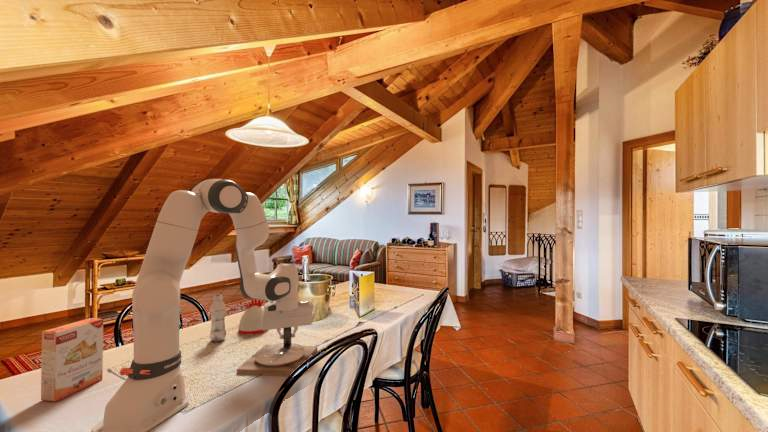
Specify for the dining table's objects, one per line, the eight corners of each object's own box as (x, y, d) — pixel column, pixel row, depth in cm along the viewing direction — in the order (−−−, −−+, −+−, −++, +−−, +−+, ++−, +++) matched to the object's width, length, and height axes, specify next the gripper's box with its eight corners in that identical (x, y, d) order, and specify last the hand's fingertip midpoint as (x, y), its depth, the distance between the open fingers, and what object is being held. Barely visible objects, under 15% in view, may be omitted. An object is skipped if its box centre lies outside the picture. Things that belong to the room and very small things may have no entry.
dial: (294, 368, 114) (294, 343, 114) (245, 365, 116) (245, 342, 116) (310, 347, 132) (310, 326, 132) (268, 345, 134) (268, 325, 134)
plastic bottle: (223, 336, 149) (222, 293, 149) (228, 340, 145) (228, 295, 145) (207, 340, 145) (207, 295, 145) (212, 344, 140) (212, 298, 140)
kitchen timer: (272, 330, 157) (272, 299, 157) (241, 337, 149) (241, 304, 149) (265, 323, 168) (264, 294, 168) (236, 328, 161) (236, 298, 161)
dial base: (297, 376, 112) (297, 371, 112) (236, 373, 114) (236, 368, 114) (317, 350, 134) (317, 345, 134) (265, 348, 136) (265, 343, 136)
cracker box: (56, 403, 97) (56, 332, 97) (40, 401, 98) (39, 331, 98) (104, 379, 110) (104, 317, 110) (89, 378, 111) (89, 316, 111)
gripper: (312, 299, 138) (312, 331, 138) (260, 304, 130) (260, 338, 130) (314, 302, 132) (314, 337, 132) (260, 308, 125) (260, 344, 125)
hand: (287, 337), depth 131 cm, fingers closed on dial, 3 cm apart
